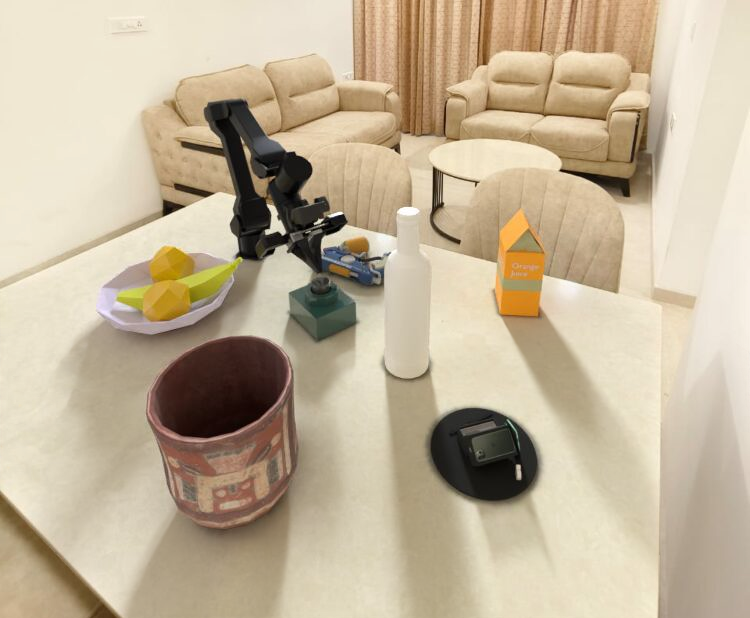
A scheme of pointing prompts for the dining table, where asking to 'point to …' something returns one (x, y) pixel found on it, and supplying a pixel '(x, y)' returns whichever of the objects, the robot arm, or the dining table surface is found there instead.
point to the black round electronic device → (483, 454)
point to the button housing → (322, 310)
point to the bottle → (407, 300)
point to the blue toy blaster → (354, 261)
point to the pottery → (226, 429)
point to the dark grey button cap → (320, 285)
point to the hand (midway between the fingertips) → (320, 273)
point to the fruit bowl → (166, 291)
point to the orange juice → (519, 268)
